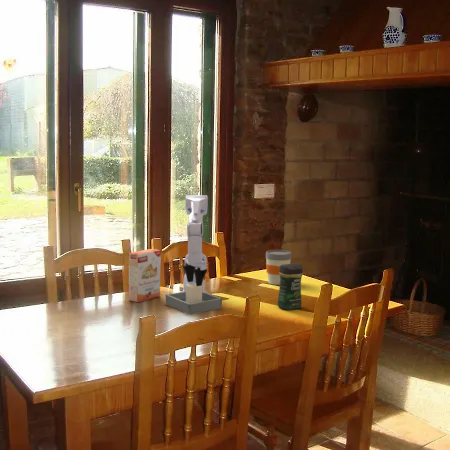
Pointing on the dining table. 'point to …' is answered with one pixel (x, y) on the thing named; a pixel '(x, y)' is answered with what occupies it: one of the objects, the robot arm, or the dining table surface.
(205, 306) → the tray
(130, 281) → the cracker box
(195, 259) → the robot arm
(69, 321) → the dining table surface
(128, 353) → the dining table surface
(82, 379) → the dining table surface
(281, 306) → the coffee jar
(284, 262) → the reusable coffee cup
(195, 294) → the carton
